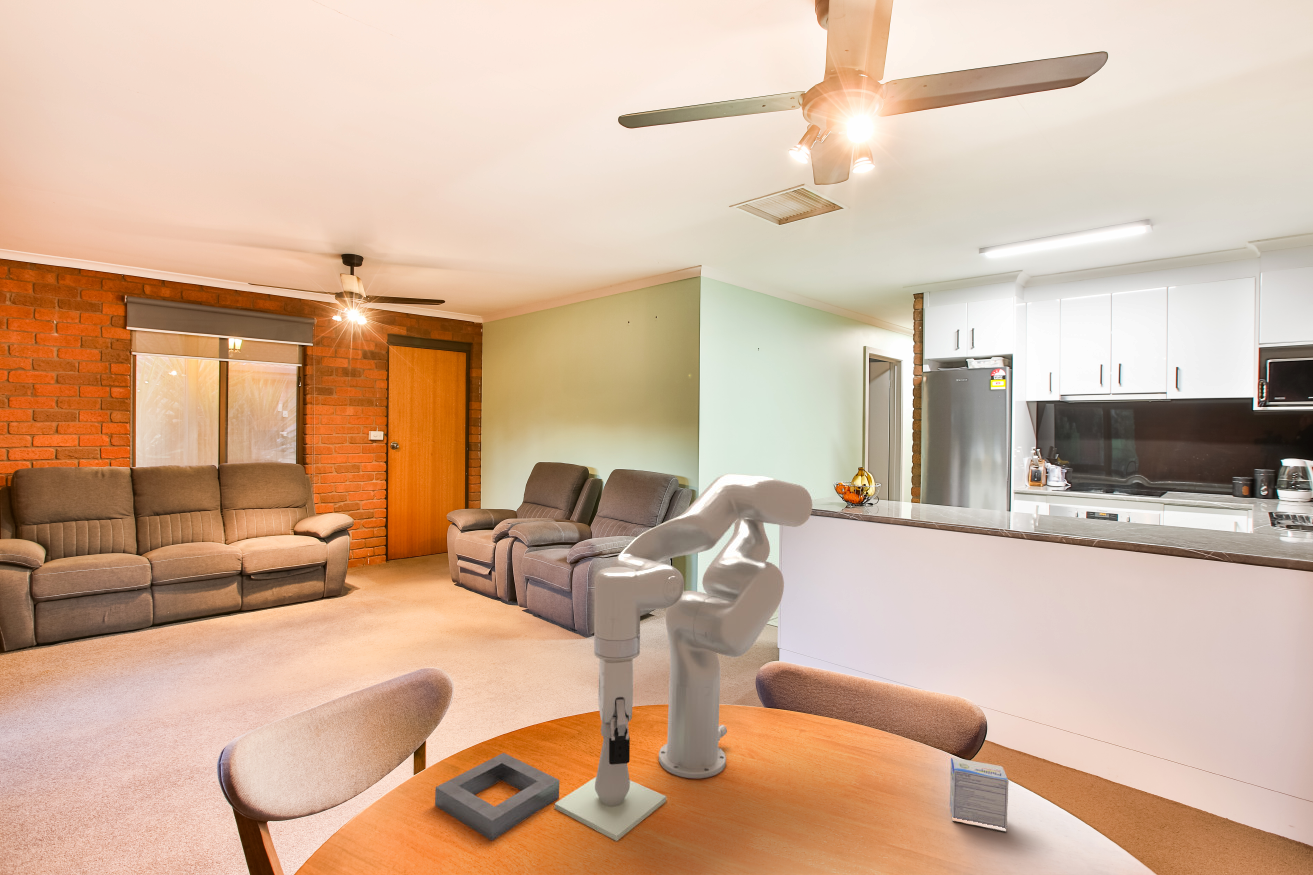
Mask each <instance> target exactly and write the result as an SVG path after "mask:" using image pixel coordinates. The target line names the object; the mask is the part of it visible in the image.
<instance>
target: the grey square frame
mask: <svg viewBox="0 0 1313 875" xmlns="http://www.w3.org/2000/svg"><path fill="white" fill-rule="evenodd" d="M501 781H502V782H504V783H506V784H508V785H509V786H512V787H513V788H515V789H517V790H519V791H518V792H517V793H516V794H513V795H511V797H509V798H507V799H505V800H504V801H502V802H500V803H498V804H496V805H493V804H492V803H490V802H488V801H485V800H484V799H482V798H480V797H478V796H477V794H480V793H481V792H482V791H485V790H486V789H488V788H490V787H492V786H493V785H495V784H498V783H499V782H501ZM434 794H435V798H434V800H435V801H434V806H435V807H436V808H438V809H440V810H441V811H443V812H444V813H446V814H447V815H449V816H451V817H453V818H454V819H455V820H457V821H459V822H460V823H463V824H464V825H465V826H467V827H468V828H470V829H472V830H474V831H475V832H477V833H478V834H480V835H482V836H483V837H485V838H486V839H488V840H489V841H494V840H495V839H498V837H500V836H502V835H504V834H505V833H507V832H508V831H510V830H511V829H513V828H514V827H515V826H517V825H519V824H521V823H522V822H523V821H525V820H527V819H528V818H530V817H532V816H533V815H535V814H537V813H538V812H540V811H541V810H543V809H544V808H546V807H547V806H549V805H550V804H553V802H555V801H556V800H558V799H560V779H558V778H556V777H555V776H552V775H550V774H548V773H546V772H544V771H542V770H540V769H537V768H536V767H534V766H532V765H529V764H528V763H526V762H523V761H522V760H520V759H517V758H516V757H513V756H512V755H509V754H507V753H505V752H502V753H500V754H499V755H497V756H494V757H492V758H491V759H489V760H487V761H485V762H483V763H481V764H479V765H476V766H474V767H473V768H471V769H469V770H467V771H464V772H463V773H461V774H459V775H457V776H454V777H453V778H451V779H449V780H447V781H445V782H443V783H441V784H439V785H437V786H435V792H434Z"/></svg>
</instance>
